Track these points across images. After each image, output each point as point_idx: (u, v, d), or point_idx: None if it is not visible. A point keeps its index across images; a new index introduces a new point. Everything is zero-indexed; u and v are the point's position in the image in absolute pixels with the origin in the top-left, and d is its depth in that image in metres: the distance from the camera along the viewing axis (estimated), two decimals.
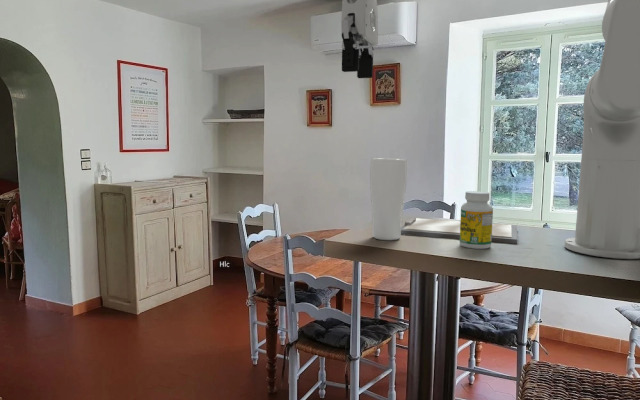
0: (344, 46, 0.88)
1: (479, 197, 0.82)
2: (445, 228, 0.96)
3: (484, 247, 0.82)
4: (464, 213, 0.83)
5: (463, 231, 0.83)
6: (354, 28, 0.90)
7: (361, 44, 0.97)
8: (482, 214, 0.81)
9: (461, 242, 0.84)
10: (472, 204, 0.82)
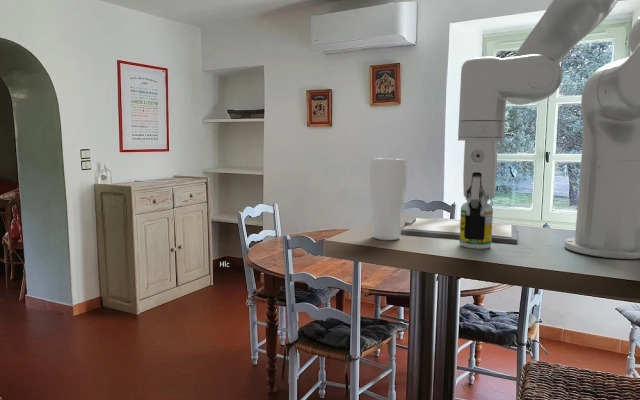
0: (470, 214, 0.80)
1: (479, 197, 0.82)
2: (445, 228, 0.96)
3: (484, 247, 0.82)
4: (464, 213, 0.83)
5: (463, 231, 0.83)
6: None
7: None
8: None
9: (461, 242, 0.84)
10: None
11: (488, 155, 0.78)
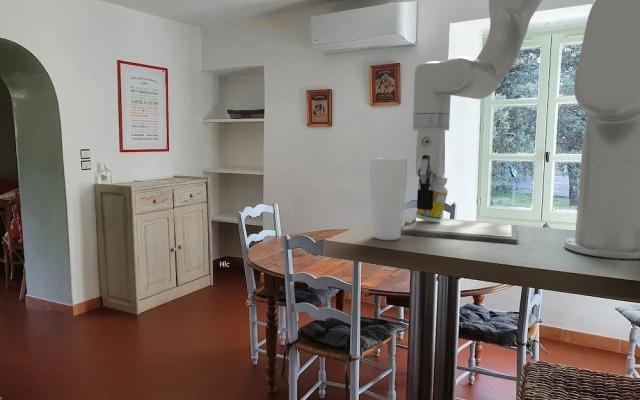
0: (420, 188, 0.98)
1: (438, 180, 1.00)
2: (445, 228, 0.96)
3: (434, 221, 1.01)
4: None
5: None
6: (427, 166, 0.99)
7: None
8: (437, 193, 1.00)
9: (417, 214, 1.03)
10: None
11: (434, 141, 0.96)
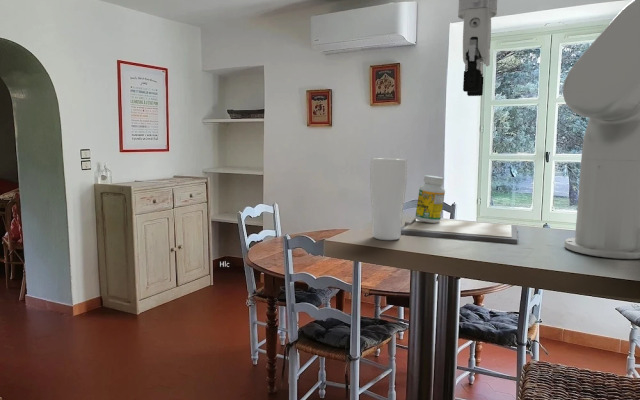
0: (467, 67, 0.94)
1: (434, 181, 1.00)
2: (445, 228, 0.96)
3: (434, 221, 1.01)
4: (421, 192, 1.01)
5: (419, 207, 1.02)
6: None
7: None
8: (435, 194, 1.00)
9: (416, 216, 1.03)
10: (428, 185, 1.01)
11: (483, 21, 0.93)
